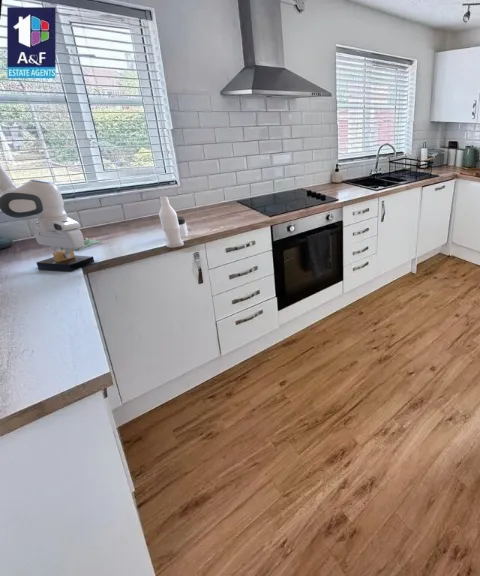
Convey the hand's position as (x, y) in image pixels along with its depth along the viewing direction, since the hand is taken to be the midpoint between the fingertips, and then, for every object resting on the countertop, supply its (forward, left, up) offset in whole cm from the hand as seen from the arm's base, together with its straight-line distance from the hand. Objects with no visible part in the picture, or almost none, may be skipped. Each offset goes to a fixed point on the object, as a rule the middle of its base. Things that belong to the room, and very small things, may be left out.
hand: (64, 257), depth 148 cm
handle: (0, 0, -1) cm, 1 cm away
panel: (0, 0, -4) cm, 4 cm away
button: (-16, +24, 0) cm, 29 cm away
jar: (+20, +44, -4) cm, 49 cm away
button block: (-16, +24, -4) cm, 29 cm away
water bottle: (+27, +30, -4) cm, 41 cm away
